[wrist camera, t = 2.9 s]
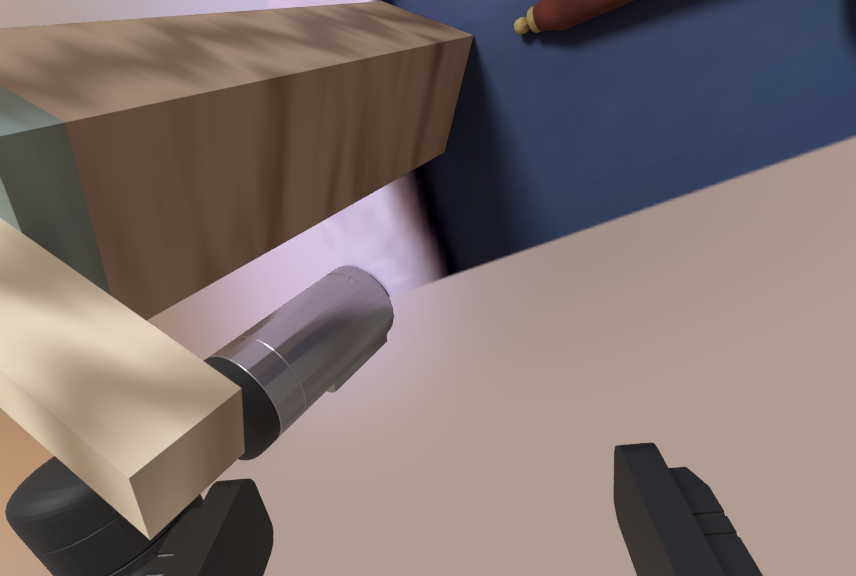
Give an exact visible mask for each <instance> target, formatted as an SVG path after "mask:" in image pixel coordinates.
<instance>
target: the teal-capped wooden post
mask: <svg viewBox="0 0 856 576" xmlns="http://www.w3.org/2000/svg"><path fill="white" fill-rule="evenodd" d="M473 36H474V35H471V34H469V33H466V32H463V31H461V30H458V29H455V28H453V27H450V26H447V25H444V24H442V23H439V22H436V21H434V20H431V19H428V18H426V17H423V16H420V15H418V14H415V13H412V12H409V11H407V10H404V9H401V8H399V7H396V6H393V5H391V4H388V3H385V2H383V1H380V2H366V3H352V4H337V5H323V6H309V7H295V8H281V9H267V10H253V11H239V12H225V13H211V14H197V15H183V16H170V17H155V18H141V19H127V20H112V21H99V22H84V23H70V24H56V25H42V26H28V27H14V28H0V218H1V219H3V220H4V221H6V222H7V223H8V224H10V225H11V226H13V227H14V228H16V229H17V230H18V231H20V232H21V233H23V234H24V235H25V236H27V237H28V238H30V239H31V240H33V241H34V242H35V243H37V244H38V245H40V246H41V247H42V248H44V249H45V250H47V251H48V252H50V253H51V254H52V255H54V256H55V257H57V258H58V259H59V260H61V261H62V262H64V263H65V264H67V265H68V266H69V267H71V268H72V269H74V270H75V271H76V272H78V273H79V274H81V275H82V276H84V277H85V278H86V279H88V280H89V281H91V282H92V283H93V284H95V285H96V286H98V287H99V288H101V289H102V290H103V291H105V292H106V293H108V294H109V295H110V296H112V297H113V298H115V299H116V300H118V301H119V302H120V303H122V304H123V305H125V306H126V307H127V308H129V309H130V310H132V311H133V312H135V313H136V314H137V315H139V316H140V317H142V318H143V319H144V320H148V319H150V318H151V317H153V316H155V315H157V314H159V313H160V312H162V311H164V310H166V309H167V308H169V307H171V306H173V305H174V304H176V303H178V302H180V301H182V300H183V299H185V298H187V297H189V296H190V295H192V294H194V293H196V292H198V291H199V290H201V289H203V288H204V287H206V286H208V285H210V284H212V283H214V282H215V281H217V280H219V279H221V278H222V277H224V276H226V275H228V274H229V273H231V272H233V271H234V270H236V269H238V268H240V267H242V266H243V265H245V264H247V263H249V262H251V261H252V260H254V259H256V258H258V257H260V256H261V255H263V254H265V253H267V252H268V251H270V250H272V249H274V248H276V247H277V246H279V245H281V244H283V243H284V242H286V241H288V240H290V239H291V238H293V237H295V236H297V235H298V234H300V233H302V232H304V231H306V230H307V229H309V228H311V227H313V226H314V225H316V224H318V223H320V222H322V221H323V220H325V219H327V218H329V217H330V216H332V215H334V214H336V213H337V212H339V211H341V210H343V209H345V208H346V207H348V206H350V205H352V204H353V203H355V202H357V201H359V200H361V199H362V198H364V197H366V196H368V195H369V194H371V193H373V192H375V191H376V190H378V189H380V188H382V187H384V186H385V185H387V184H389V183H391V182H392V181H394V180H396V179H398V178H399V177H401V176H403V175H405V174H407V173H408V172H410V171H412V170H414V169H415V168H417V167H419V166H421V165H422V164H424V163H426V162H428V161H430V160H431V159H433V158H435V157H437V156H438V155H440V154H442V153H444V152H445V148H446V144H447V140H448V136H449V132H450V128H451V124H452V120H453V116H454V112H455V108H456V104H457V100H458V96H459V92H460V88H461V84H462V80H463V76H464V72H465V68H466V64H467V60H468V56H469V52H470V48H471V44H472V40H473Z"/></svg>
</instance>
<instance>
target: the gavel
mask: <svg viewBox="0 0 856 576" xmlns="http://www.w3.org/2000/svg"><path fill="white" fill-rule="evenodd" d="M632 1H634V0H540V1H539V2H538V3H537V4H536V5H535V6H533V7H531V8H530V9H529V10H528V12H527V17H521V18H519V19H517V20H516V22H515V23H514V28H515V31H516V33H517V34H525V33H526V32H528V30H529V29H531V30H532V31H533V32H535V33H538V32H541V31H552V30H566V29H568V28H570V27H573V26H575V25H578V24H580V23H582V22H585V21H587V20H589V19H592V18H594V17H596V16H599V15H601V14H604V13H606V12H608V11H611V10H613V9H615V8H618V7H620V6H622V5H625V4H627V3H630V2H632Z"/></svg>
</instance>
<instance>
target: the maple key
mask: <svg viewBox="0 0 856 576" xmlns="http://www.w3.org/2000/svg"><path fill="white" fill-rule="evenodd" d="M0 408H1V409H2V410H3V411H5V412H6V413H7V414H8V415H9V416H11V418H13V419H14V420H15V421H16V422H17V423H18V424H19V425H20V426H22V427H23V428H24V429H25V430H26V431H27V432H28V433H29V434H31V435H32V436H33V437H34V438H35V439H37V441H39V442H40V443H41V444H42V445H43V446H44V447H45V448H46V449H48V450H49V451H50V452H51V453H52V454H53V455H54V456H55V457H57V458H58V459H59V460H60V461H61V462H62V463H63V464H65V465H66V466H67V467H68V468H69V469H70V470H71V471H72V472H74V473H75V474H76V475H77V476H78V477H79V478H80V479H82V480H83V481H84V482H85V483H86V484H87V485H88V486H89V487H91V488H92V489H93V490H94V491H95V492H96V493H97V494H98V495H100V496H101V497H102V498H103V499H104V500H105V501H106V502H108V503H109V504H110V505H111V506H112V507H113V508H114V509H115V510H117V511H118V512H119V513H120V514H121V515H122V516H123V517H125V518H126V519H127V520H128V521H129V522H130V523H131V524H132V525H134V526H135V527H136V528H137V529H138V530H139V531H140V532H141V533H143V534H144V535H145V536H146V537H147V538H148V539H149V540H151V539H152V538H153V537H154V536H155V535H156V534H157V533H159V532H160V531H161V530H162V529H163V528H164V527H165V526H166V525H167V524H168V523H169V522H170V521H171V520H173V519H174V518H175V517H176V516H177V515H178V514H179V513H180V512H181V511H182V510H183V509H184V508H185V507H187V506H188V505H189V504H190V503H191V502H192V501H193V500H194V499H195V498H196V497H197V496H198V495H199V494H201V493H202V492H203V491H204V490H205V489H206V488H207V487H208V486H209V485H210V484H211V483H212V482H213V481H215V480H216V479H217V478H218V477H219V476H220V475H221V474H222V473H223V472H224V471H225V470H226V469H227V468H228V467H230V466H231V465H232V464H233V463H234V462H235V461H236V460H237V459H238V458H239V457H240V456H241V455H242V454H244V453H245V448H244V427H243V406H242V388H241V387H239V386H238V385H236V384H235V383H234V382H232V381H231V380H229V379H228V378H227V377H225V376H224V375H222V374H221V373H219V372H218V371H217V370H215V369H214V368H212V367H211V366H210V365H208V364H207V363H205V362H204V361H202V360H201V359H200V358H198V357H197V356H195V355H194V354H192V353H191V352H190V351H188V350H187V349H185V348H184V347H182V346H181V345H180V344H178V343H177V342H176V341H174V340H173V339H171V338H170V337H169V336H167V335H166V334H164V333H163V332H161V331H160V330H159V329H157V328H156V327H154V326H153V325H151V324H150V323H149V322H147V321H146V320H144V319H143V318H142V317H140V316H139V315H137V314H136V313H135V312H133V311H132V310H130V309H129V308H127V307H126V306H125V305H123V304H122V303H120V302H119V301H118V300H116V299H115V298H113V297H112V296H110V295H109V294H108V293H106V292H105V291H103V290H102V289H101V288H99V287H98V286H96V285H95V284H93V283H92V282H91V281H89V280H88V279H86V278H85V277H84V276H82V275H81V274H79V273H78V272H76V271H75V270H74V269H72V268H71V267H69V266H68V265H67V264H65V263H64V262H62V261H61V260H59V259H58V258H57V257H55V256H54V255H52V254H51V253H50V252H48V251H47V250H45V249H44V248H42V247H41V246H40V245H38V244H37V243H35V242H34V241H33V240H31V239H30V238H28V237H27V236H25V235H24V234H23V233H21V232H20V231H18V230H17V229H16V228H14V227H13V226H11V225H10V224H8V223H7V222H6V221H4V220H3V219H1V218H0Z"/></svg>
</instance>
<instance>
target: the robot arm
mask: <svg viewBox="0 0 856 576" xmlns="http://www.w3.org/2000/svg"><path fill="white" fill-rule="evenodd" d="M393 317H394V315H393V308H392V304H391V301H390V299H389V297H388V295H387V293H386V291H385V290H384V289H383V287H382V286H381V285H380V284H379V283H378V282H377V280H376V279H375V278H373V277H372V276H371V275H369V274H368V273H367V272H365V271H363V270H361V269H359V268H356V267H352V266H342V267H339V268H337V269H335V270H334V271H332V272H331V273H329V274H327V275H326V276H325V277H323V278H322V279H320V280H319V281H318V282H316V283H315V284H313V285H312V286H310V287H309V288H307V289H306V290H304V291H303V292H301V293H300V294H299V295H297V296H296V297H294V298H293V299H291V300H290V301H289V302H287V303H286V304H284V305H283V306H281V307H280V308H279V309H277V310H276V311H274V312H273V313H271V314H270V315H268V316H267V317H266V318H264V319H263V320H261V321H260V322H258V323H257V324H256V325H254V326H253V327H251V328H250V329H249V330H247V331H246V332H244V333H243V334H241V335H240V336H238V337H237V338H236V339H234V340H233V341H231V342H230V343H228V344H227V345H226V346H224V347H223V348H221V349H220V350H218V351H217V352H216V353H214V354H213V355H211V356H210V357H208V358H207V359H205V360H204V362H205V363H207V364H208V365H210V366H211V367H212V368H214V369H215V370H217V371H218V372H219V373H221V374H222V375H224V376H225V377H227V378H228V379H229V380H231V381H232V382H234V383H235V384H236V385H238V386H239V387H241V388H242V406H243V427H244V448H245V453H244V454H242V455H241V456H240V457H239V458H238V459H240V460H251V459H254V458H256V457H258V456H259V455H260V454H262V453H263V452H264V451H265V450H266V449H267V448H268V447H269V446H270V445H271V444H272V443H273V442H274V441H275V440H277V438H278V437H279V436H280V435H281V434H282V433H283V432H285V431H286V430H287V428H289V427H290V426H291V425H292V424H293V423H294V422H295V421H296V420H297V419H298V418H299V417H300V416H301V415H302V414H303V413H304V412H305V411H306V410H307V409H308V408H309V407H310V406H311V405H312V404H313V403H314V402H315V401H316V400H318V399H319V398H320V397H321V396H322V395H323V394H324V393H325V392H326V391H328V392H335V391H337V390H338V389H339V388H340V387H341V386H342V385H343V384H344V383H345V382H346V381H347V380H348V379H349V378H350V377H351V376H352V375H353V374H354V373H355V372H356V371H357V370H358V369H359V368H360V367H361V366H362V365H363V364H364V363H365V362H366V361H367V360H368V359H369V358H370V357H371V356H373V355H374V353H376V351H378V350H379V349H380V347H382V346H383V345H384V344H385V343H386V342H387V333H388V331H389V330H390V329H391V327H392V324H393ZM614 505H615V510H616V515H617V520H618V523H619V526H620V529H621V532H622V535H623V538H624V540H625V543H626V546H627V549H628V551H629V554H630V557H631V560H632V563H633V565H634V568H635V571H636V573H637V576H763V575H762V573H761V572H760V570H759V569H758V567H757V565H756V563H755V562H754V560H753V558H752V557H751V555H750V553H749V552H748V550H747V549H746V547H745V545H744V544H743V542H742V540H741V539H740V537H738V536H737V534H736V530H735V529H734V527H733V525H732V524H731V522H730V520H729V519H728V517H727V516H725V514H724V510H723V509H722V507H721V505H720V504H719V502H718V500H717V499H716V497H715V495H714V494H713V492H712V491H711V489H710V487H709V486H708V485H707V484H705V483H704V482H703V481H702V480H701V479H700V478H699V477H697V476H696V475H695V474H694V473H693V472H691V471H690V470H689V469H688V468H687V467H678V468H668V467H667V465H666V463H665V461H664V459H663V457H662V456H661V454H660V452H659V450H658V448H657V447H656V445H655V444H654V443H640V444H630V445H618V446H616V447H615V451H614ZM5 512H6V518H7V520H8V522H9V524H10V526H11V527H12V528H13V530H14V531H15V532H16V534H17V535H18V536H19V537H20V538H21V539H22V541H23V542H24V543H25V544H26V545H27V546H28V548H29V549H30V550H31V551H32V552H33V553H34V554H35V556H36V557H37V558H38V559H39V560H40V561H41V562H42V563H43V564H44V566H45V567H46V568H47V569H48V570H49V571H50V573H51V574H52V575H53V576H263V574H264V572H265V569H266V566H267V563H268V560H269V557H270V555H271V551H272V546H273V526H272V523H271V520H270V518H269V516H268V513H267V511H266V508H265V506H264V504H263V501H262V499H261V496H260V494H259V491H258V489H257V487H256V484H255V482H254V481H253V480H251V479H238V480H226V481H217V482H215V483H214V484H213V485H212V486H211V488H210V489H209V491H208V493H207V495H206V497H205V499H204V500H203V499H202V496H201V495H200V494H199V495H198V496H197V497H196V498H195V499H194V500H193V501H192V502H191V503H190V504H189V505H188V506H187V507H185V508H184V509H183V510H182V511H181V512H180V513H179V514H178V515H177V516H176V517H175V518H174V519H173V520H171V521H170V522H169V523H168V524H167V525H166V526H165V527H164V528H163V529H162V530H161V531H160V532H159V533H157V534H156V535H155V536H154V537H153V538H152V539H151V540H149V539H148V538H147V537H146V536H145V535H144V534H143V533H141V532H140V531H139V530H138V529H137V528H136V527H135V526H134V525H132V524H131V523H130V522H129V521H128V520H127V519H126V518H125V517H123V516H122V515H121V514H120V513H119V512H118V511H117V510H115V509H114V508H113V507H112V506H111V505H110V504H109V503H108V502H106V501H105V500H104V499H103V498H102V497H101V496H100V495H98V494H97V493H96V492H95V491H94V490H93V489H92V488H91V487H89V486H88V485H87V484H86V483H85V482H84V481H83V480H82V479H80V478H79V477H78V476H77V475H76V474H75V473H74V472H72V471H71V470H70V469H69V468H68V467H67V466H66V465H65V464H63V463H62V462H61V461H60V460H59V459H58V458H57V457H55V456H54V457H53V458H51V459H50V460H48V461H47V462H46V463H44V464H43V465H42V466H41V467H39V468H38V469H36V470H35V471H34V472H33V473H32V474H31V475H30V476H29V477H28V478H26V479H25V480H24V481H23V482H22V483H21V484H20V485H19V487H18V488H17V489H16V491H15V492H14V493H13V494H12V496H11V498H10V499H9V501H8V503H7V506H6V511H5Z"/></svg>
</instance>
